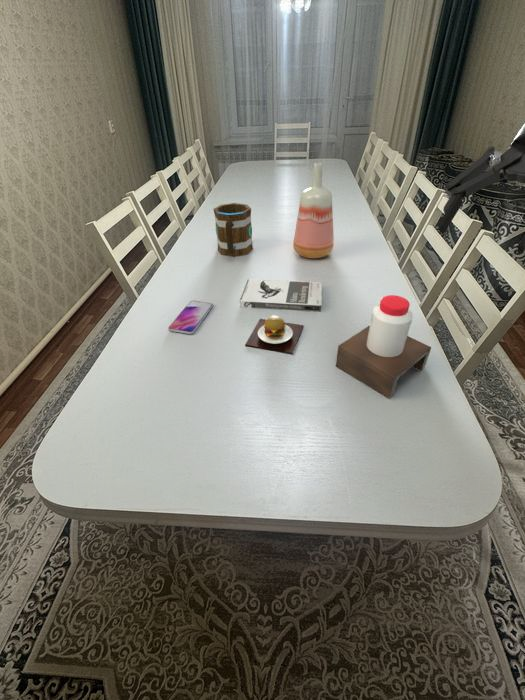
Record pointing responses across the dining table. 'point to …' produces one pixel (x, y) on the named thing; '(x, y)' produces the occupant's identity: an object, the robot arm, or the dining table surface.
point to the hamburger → (275, 335)
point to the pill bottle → (389, 326)
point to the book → (282, 295)
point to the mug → (233, 229)
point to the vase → (314, 220)
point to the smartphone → (190, 317)
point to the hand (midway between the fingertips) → (477, 239)
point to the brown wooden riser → (379, 362)
